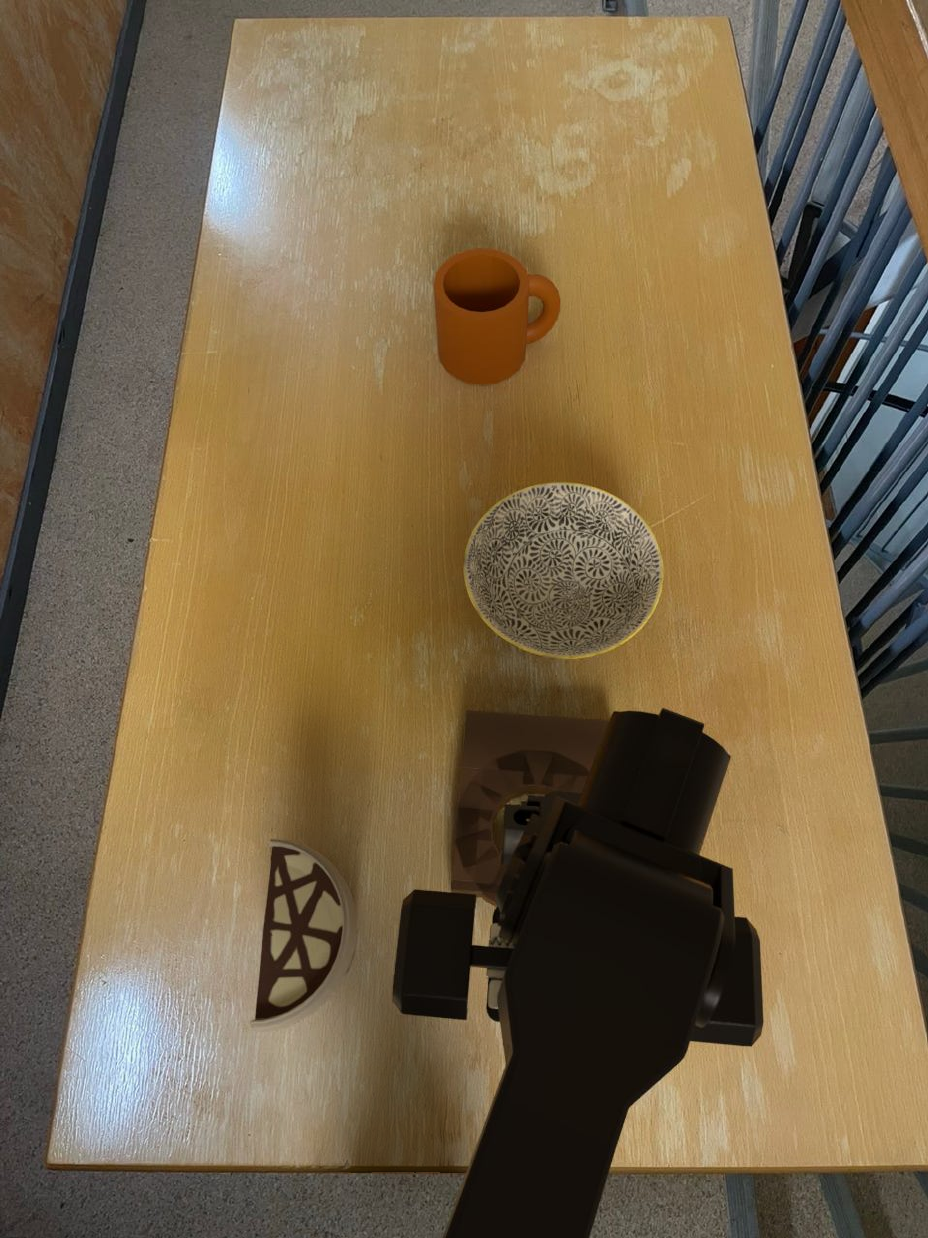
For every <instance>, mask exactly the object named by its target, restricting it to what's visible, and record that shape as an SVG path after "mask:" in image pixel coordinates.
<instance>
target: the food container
mask: <svg viewBox="0 0 928 1238" xmlns="http://www.w3.org/2000/svg"><path fill="white" fill-rule="evenodd" d="M267 844H268V845H269V846H270V849H271V853H270V859H269V860H270V866H269V876H268V884H267V894H266V895H267V896H266V904H265V912H264V917H263V918H264V919H263V925H262V936H261V938H262V939H261V951H260V963H259V974H258V976H259V977H258V982H257V983H258V985H257V992H256V993H257V995H256V1005H255V1014H254V1019H252V1020H250V1021H248V1024H250V1028H251V1029H252V1031H253V1032H254V1033H255V1034H258V1033H259V1034H260V1033H272V1032H274V1031H278V1030H283V1029H286V1028H289V1027H291V1026H294V1025H295V1024H298V1023H300V1022H301V1021H304V1020H305V1019H307V1018H308V1017H310V1016H312V1015H313V1014H314V1013H315V1012H316V1011H318V1010H319V1009H320V1008H322V1006H324V1005H325V1004H326V1003H327V1002H328V1001H329V999H330V998H331V997H332V996H333V995H334V993H335V992H336V991H337V989H338V988H339V987H340V985H341V984H342V982H343V981H344V979H345V977H346V976H347V974H348V973H349V971H350V968H351V965H352V962H353V958H354V955H355V950H356V945H357V936H358V917H357V910H356V904H355V901H354V898H353V895H352V893H351V890H350V888H349V887H350V886H349V885H348V883H347V881H346V880H345V878H344V876H343V875H342V874H341V872H340V871H339V870H338V868H337V866H336V865H334V864H333V863H332V862H331V861H330V860H329V859H328V858H327V857H325V856H324V855H322V854H321V853H320V852H318V851H316V850H315V849H314V848H311V847H309V846H307V845H305V844H303V843H301V842H294V841H292V840H289V839H288V840H287V839H278V838H274V839H273V838H270V839H269V840H267Z"/></svg>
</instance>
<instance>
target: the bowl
mask: <svg viewBox="0 0 928 1238" xmlns="http://www.w3.org/2000/svg"><path fill="white" fill-rule="evenodd" d="M462 565H463V566H462V567H463V568H462V569H463V571H462V573H463V580H464V585H465V589H466V592H467V595H468V597H469V598H468V599H469V600H470V602H471V604H472V606H473V608H474V609H475V611H476V612H477V614H478V616H479V617H480V618H481V619H482V622H483V623H485V624H486V625H487V626H488V627H489V629H491V630H492V631H493V632H494V633H495V634H496V635H498V636H499V637H500V638H501V639H503V640H504V641H506V642H507V643H508V644H510V645H512V646H513V647H516V648H518V649H519V650H522V651H525V652H527V653H530V654H532V655H534V656H538V657H542V658H547V659H551V660H552V659H553V660H575V659H585V658H589V657H594V656H599V655H603V654H605V653H607V652H610V651H612V650H614V649H616V648H619V647H620V646H621V645H623V644H625V643H626V642H628V641H630V639H632V638H633V637H634V636H635V635H636V634H638V633H639V632H640V631H641V630H642V628H643V627H644V626H645V625H646V624H647V622H648V621H649V620H650V618H651V617H652V616H653V613H654V612H655V610H656V608H657V606H658V603H659V600H660V599H661V595H662V591H663V585H664V578H665V577H664V576H665V568H664V559H663V555H662V552H661V549H660V545H659V542H658V540H657V538H656V536H655V533H654V532H653V531H652V529H651V527H650V526H649V524H648V522H647V521H646V520H645V519H644V518H643V517H642V515H641V514H640V513H639V512H638V511H637V510H636V509H634V507H632V506H631V505H630V504H629V503H627V502H626V501H624V500H623V499H621V498H619V497H618V496H616V495H615V494H612V493H610V492H608V491H606V490H603V489H601V488H599V487H595V486H592V485H588V484H584V483H580V482H570V481H553V482H545V483H538V484H535V485H531V486H530V485H529V486H528V487H524V488H521V489H519V490H515V492H514V491H513V492H511V493H510V494H508V495H507V496H505V497H504V498H502V499H500V500H499V501H498V502H496V503H495V504H494V505H492V506H491V507H490V508H489V509H488V510H487V511H486V512H485V513H484V514H483V515H482V516H481V518H480V519H479V520H478V522H477V523H476V525H475V526H474V528H473V529H472V532H471V533H470V535H469V538H468V540H467V543H466V546H465V549H464V555H463V563H462Z"/></svg>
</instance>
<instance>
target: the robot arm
mask: <svg viewBox="0 0 928 1238" xmlns="http://www.w3.org/2000/svg"><path fill="white" fill-rule="evenodd" d="M608 721H609V723H608V725H607V728H606V730H605V733H604V736H603V738H602V741H601V743H600V746H599V749H598V751H597V754H596V757H595V759H594V762H593V764H592V767H591V770H590V772H589V775H588V778H587V780H586V783H585V785H584V788H583V791H582V793H577V792H564V791H553V792H550V793H548V794H546V795H535V794H527V800H521V802H520V804H512V803H511V804H510V803H507V804H506V805H505V806H504V807H503V822H502V836H501V837H502V838H501V839H502V840H501V852H500V854H501V866H502V867H507V869H506V871H505V873H504V876H503V878H502V880H501V883H500V886H499V888H498V891H497V894H496V897H495V901H496V904H497V906H498V907H496V908H495V909H494V910H493V914H492V918H491V919H492V921H491V925H490V927H489V936H488V937H489V938H488V945H480V944H479V945H478V944H473V941H474V939H473V938H474V930H475V929H474V927H475V916H476V908H477V907H476V906H477V897H476V894H464V893H452V892H450V891H440V890H439V891H438V890H427V889H418V888H417V889H415V888H414V889H413V890H412V891H411V892H409V893H408V895H407V896H405V897H404V898H403V900H402V904H401V908H400V914H399V924H398V933H397V943H396V952H395V961H394V969H393V978H392V979H393V980H392V989H391V991H392V992H391V1002H392V1004H394V1006H395V1007H396V1009H397V1010H398V1011H399V1013H400V1014H401V1015H403V1016H405V1015H406V1016H414V1017H415V1016H416V1017H425V1018H437V1019H447V1020H458V1021H468V1011H469V1007H468V1005H469V992H470V981H471V979H470V977H471V968H480V969H481V968H482V969H486V976H485V978H486V979H487V991H486V1007H485V1008H486V1009H485V1010H486V1013H487V1016H488V1017H489V1018H490V1019H491V1020H492V1021H494V1022H497V1023H499V1026H500V1031H501V1032H500V1033H501V1039H502V1046H503V1047H502V1048H503V1054H504V1061H505V1065H504V1068H503V1071H502V1074H501V1076H500V1080H499V1082H498V1085H497V1088H496V1091H495V1093H494V1096H493V1098H492V1101H491V1104H490V1107H489V1110H488V1112H487V1115H486V1118H485V1121H484V1123H483V1126H482V1129H481V1132H480V1134H479V1137H478V1141H477V1142H476V1145H475V1148H474V1151H473V1154H472V1156H471V1159H470V1162H469V1164H468V1167H467V1169H466V1172H465V1175H464V1178H463V1181H462V1182H461V1183H462V1184H461V1187H460V1188H459V1192H458V1193H457V1197H456V1199H455V1202H454V1204H453V1207H452V1211H451V1213H450V1216H449V1218H448V1221H447V1224H446V1227H445V1229H444V1233H443V1235H442V1238H591V1234H592V1230H593V1227H594V1224H595V1222H596V1221H595V1220H596V1217H597V1213H598V1211H599V1207H600V1203H601V1201H602V1197H603V1193H604V1190H605V1186H606V1184H607V1180H608V1177H609V1173H610V1170H611V1166H612V1164H613V1160H614V1156H615V1153H616V1150H617V1146H618V1144H619V1141H620V1137H621V1134H622V1132H623V1128H624V1124H625V1123H626V1119H627V1116H628V1112H629V1110H630V1108H631V1107H632V1106H633V1105H635V1103H636V1102H638V1101H639V1100H640V1099H641V1098H642V1097H643V1096H644V1095H645V1094H646V1093H647V1092H649V1091H650V1090H651V1089H652V1088H653V1087H655V1085H657V1084H658V1083H659V1082H660V1081H661V1080H662V1079H664V1077H666V1076H667V1075H668V1074H669V1073H670V1072H672V1070H674V1069H675V1068H676V1067H677V1066H678V1065H679V1064H680V1063H681V1062H682V1061H683V1060H684V1059H685V1057H686V1054H687V1052H688V1050H689V1046H690V1043H691V1042H693V1043H702V1044H703V1043H704V1044H713V1045H714V1044H715V1045H723V1046H736V1047H750V1048H752V1047H753V1046H754V1044H755V1043H756V1042H757V1041H758V1040H759V1038H760V1037H761V1036H762V1033H763V1027H764V1001H763V999H764V998H763V979H762V958H761V953H762V952H761V940H760V937H759V933H758V931H757V929H756V928H755V926H754V925H753V924H752V923H751V922H750V920H749V919H748V918H747V917H746V916H745V917H744V916H735V915H736V914H735V913H736V911H735V892H734V890H735V889H734V869H733V868H732V867H729V866H728V865H725V864H723V863H720V862H717V861H715V860H713V859H710V858H708V857H705V856H703V855H700V854H701V851H702V849H703V845H704V842H705V839H706V836H707V832H708V830H709V826H710V823H711V820H712V817H713V814H714V811H715V808H716V804H717V801H718V798H719V795H720V792H721V790H722V786H723V783H724V780H725V777H726V773H727V771H728V768H729V764H730V762H731V757H732V756H731V755H730V754H729V753H728V751H727V750H726V749H725V747H724V746H723V745H722V744H720V743H719V742H718V741H717V740H715V739H714V738H713V737H711V736H709V735H708V734H707V733H705V732H704V728H705V723H704V722H701V721H699V720H697V719H694V718H692V717H688V716H685V715H683V714H680V713H678V712H675V711H673V710H670V709H667V708H665V707H662V708H661V709H660V711H659V713H658V714H657V713H653V712H646V711H640V710H623V711H618V710H613V711H612V713H611V715H610V717H609V719H608Z"/></svg>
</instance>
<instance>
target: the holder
mask: <svg viewBox="0 0 928 1238" xmlns="http://www.w3.org/2000/svg"><path fill="white" fill-rule="evenodd" d="M608 723H609V719H608V720H606V719H595V718H594V719H590V718H580V717H579V718H576V717H565V716H563V717H562V716H549V715H535V714H519V713H507V712H506V713H505V712H492V711H477V710H466V711H465V720H464V729H463V730H464V732H463V744H462V754H461V757H462V758H461V768H460V776H459V777H460V779H459V789H458V790H459V791H458V793H459V794H458V801H457V803H456V805H455V809H454V810H455V811H454V812H455V813H454V822H453V833H452V841H453V848H454V850H453V860H452V862H453V863H452V873H451V885H450V891H451V892H452V893H464V894H476V898H482V900H483V901H484V902H486V903H488V904H490V905H491V906H493V907H496V908H497V907H498V906H497V904H496V901H495V897H496V894H497V891H498V888H499V886H500V883H501V880H502V878H503V876H504V873H505V871H506V869H507V867H502V866H501V852H500V851H499V850H498V848H497V844H496V841H495V839H494V835H493V833H494V823H495V821H496V819H497V818H498V815H499V814H500V812H501V809H502V808H504V806H505V805H506V804H509V803H510V802H511V801H512V800H513V799H516V798H519V797H522V796H525V795H539V796H545V795H546V794H548V793H550V792H553V791H564V792H577V793H582V791H583V788H584V785H585V783H586V780H587V778H588V775H589V772H590V770H591V767H592V764H593V762H594V759H595V757H596V754H597V751H598V749H599V746H600V743H601V741H602V738H603V736H604V733H605V730H606V728H607V725H608Z"/></svg>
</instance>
